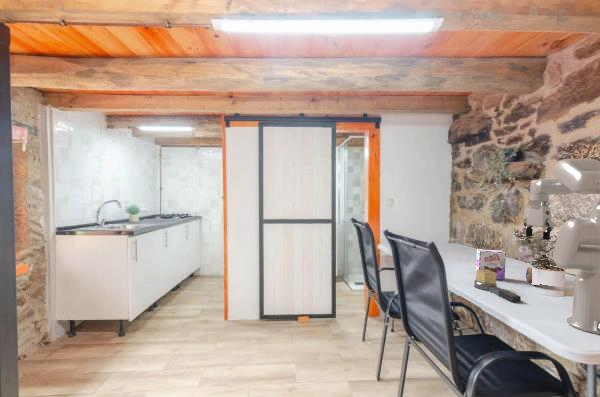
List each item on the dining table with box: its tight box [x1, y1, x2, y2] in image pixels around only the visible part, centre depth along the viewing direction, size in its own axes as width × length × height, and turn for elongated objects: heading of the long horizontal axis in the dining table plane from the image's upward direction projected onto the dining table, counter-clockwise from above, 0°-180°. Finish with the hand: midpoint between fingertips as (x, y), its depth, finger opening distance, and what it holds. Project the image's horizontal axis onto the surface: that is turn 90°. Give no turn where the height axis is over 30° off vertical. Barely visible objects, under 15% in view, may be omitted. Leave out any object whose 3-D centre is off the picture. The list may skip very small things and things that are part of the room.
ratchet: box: [474, 279, 522, 303], centre depth 151 cm, size 25×10×7 cm, turn 6°
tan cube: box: [475, 269, 497, 284], centre depth 158 cm, size 6×6×6 cm
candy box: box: [474, 248, 507, 281], centre depth 177 cm, size 14×6×16 cm, turn 76°
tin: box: [525, 267, 533, 285], centre depth 167 cm, size 15×3×8 cm, turn 160°
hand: (537, 238), depth 151 cm, fingers open, 9 cm apart
